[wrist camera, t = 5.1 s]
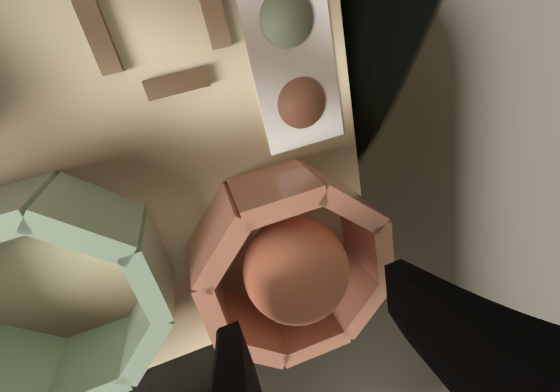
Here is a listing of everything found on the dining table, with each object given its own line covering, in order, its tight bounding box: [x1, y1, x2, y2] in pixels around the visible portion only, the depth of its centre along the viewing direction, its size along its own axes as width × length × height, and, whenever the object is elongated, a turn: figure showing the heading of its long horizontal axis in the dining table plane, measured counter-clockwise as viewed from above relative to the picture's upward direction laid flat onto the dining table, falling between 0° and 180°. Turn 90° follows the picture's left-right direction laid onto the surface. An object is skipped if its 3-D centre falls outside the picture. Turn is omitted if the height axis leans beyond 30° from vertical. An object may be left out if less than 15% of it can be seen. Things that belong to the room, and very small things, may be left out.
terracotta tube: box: [187, 158, 394, 369], centre depth 13 cm, size 7×7×3 cm
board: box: [0, 0, 362, 368], centre depth 12 cm, size 18×18×1 cm
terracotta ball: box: [243, 217, 350, 326], centre depth 13 cm, size 4×4×4 cm
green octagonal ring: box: [0, 171, 175, 392], centre depth 11 cm, size 7×7×3 cm
